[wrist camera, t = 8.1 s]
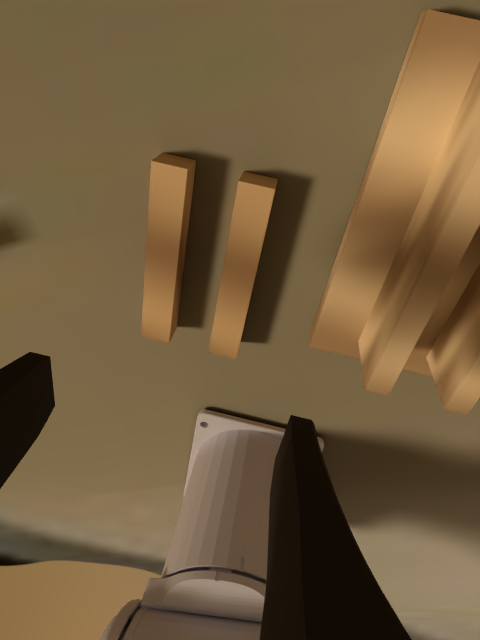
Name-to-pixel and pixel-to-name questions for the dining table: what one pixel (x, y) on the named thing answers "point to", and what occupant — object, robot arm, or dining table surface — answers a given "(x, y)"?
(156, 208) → the stand
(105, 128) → the dining table surface
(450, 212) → the rack
